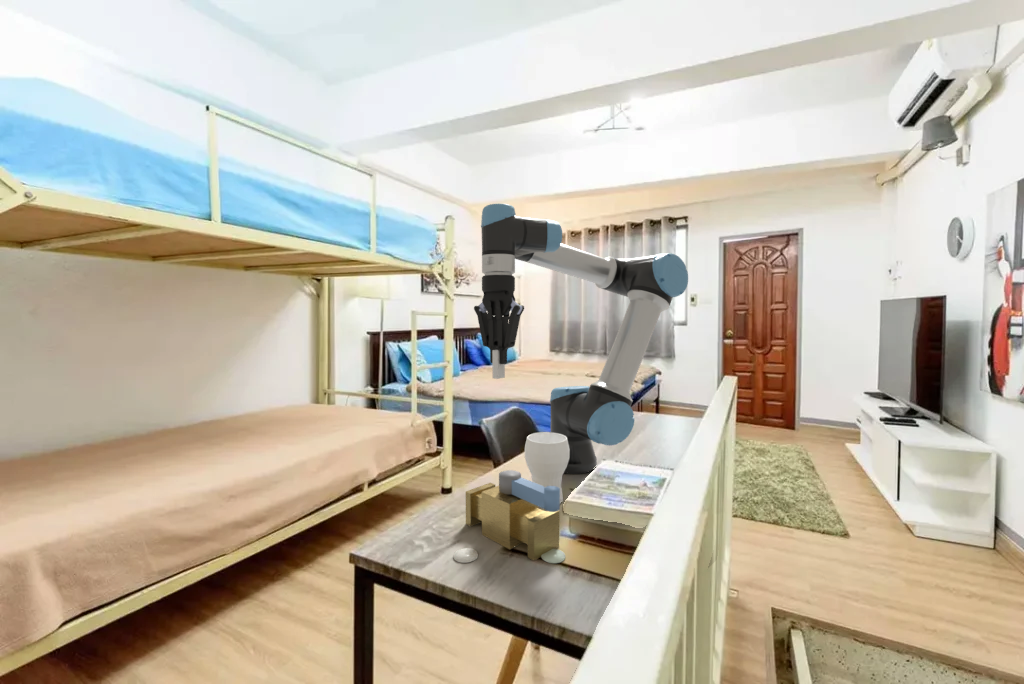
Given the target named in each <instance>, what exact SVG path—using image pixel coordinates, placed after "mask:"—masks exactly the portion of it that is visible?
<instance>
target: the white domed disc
mask: <svg viewBox="0 0 1024 684" xmlns="http://www.w3.org/2000/svg"><path fill="white" fill-rule="evenodd" d="M478 558H479V554H478V551H477V550H476V549H473V548H469V547H465V548H460V549H458V550H456V551H455V552H454V553H453V559H454V561H455V562H458V563H461V564H467V563H472V562H474V561H476V560H477V559H478Z"/></svg>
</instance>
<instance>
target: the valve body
mask: <svg viewBox="0 0 1024 684" xmlns="http://www.w3.org/2000/svg"><path fill="white" fill-rule="evenodd" d="M480 523H481V535H482V536H484V537H486V538H488V539H489V540H491V541H493V542H495V543H496V544H499V545H500V546H502V547H504V548H506V549H507V550H512V549H514V548H515V547H514V546H516V547H518V546H520V545H522V544H523V543H524V544H526V545H527V558H528V559H530V560H532V561H534V562H535V561H536V560H538V559H539V558H541V555H542V554H544V553H546V552H548V551H549V550H551V549H558V548H559V547H560V509H559V510H558V511H556V512H549V511H546V510H544V509H542V508H541V509H540V507H539V506H537V505H534V504H532V503H530V502H528V501H525V500H523V499H521V498H519V497H517V496H514V495H512V494H503V493H501V492H500V491H499V485H496V484H495V483H492V482H487V483H486V484H482V485H480V486H478V487H475V488H471V489H468V490H466V491H465V525H467V526H469V527H473V526H475V525H478V524H480ZM519 544H520V545H519ZM517 545H518V546H517ZM513 547H514V548H513Z"/></svg>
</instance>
